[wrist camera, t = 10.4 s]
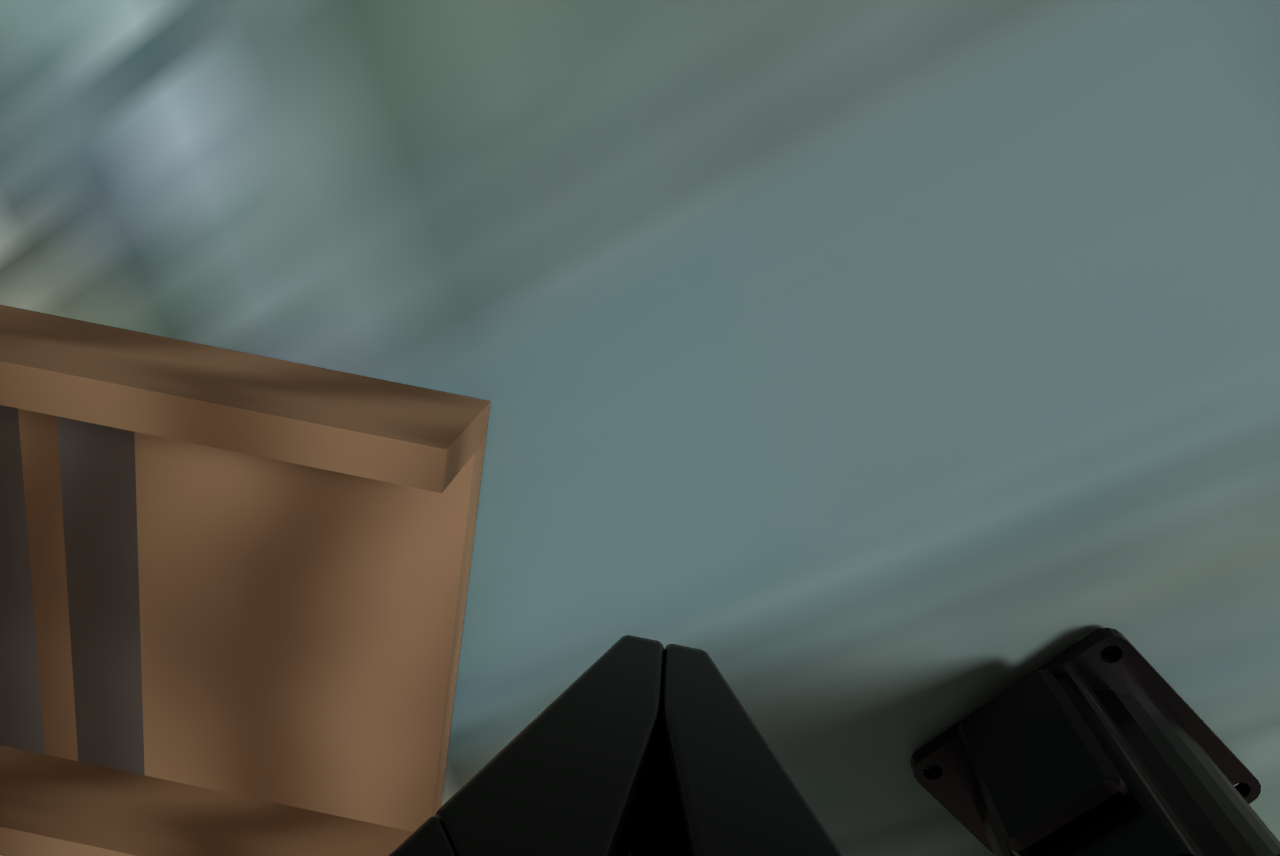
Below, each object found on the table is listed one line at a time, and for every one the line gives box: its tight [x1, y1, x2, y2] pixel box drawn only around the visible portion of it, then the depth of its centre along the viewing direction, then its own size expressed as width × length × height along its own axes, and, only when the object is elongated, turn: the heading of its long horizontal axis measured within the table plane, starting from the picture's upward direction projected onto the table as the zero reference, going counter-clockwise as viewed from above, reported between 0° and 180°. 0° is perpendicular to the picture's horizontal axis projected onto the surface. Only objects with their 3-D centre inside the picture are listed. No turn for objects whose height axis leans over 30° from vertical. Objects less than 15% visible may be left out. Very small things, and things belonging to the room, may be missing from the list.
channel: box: [0, 305, 490, 856], centre depth 21 cm, size 23×14×4 cm, turn 80°
